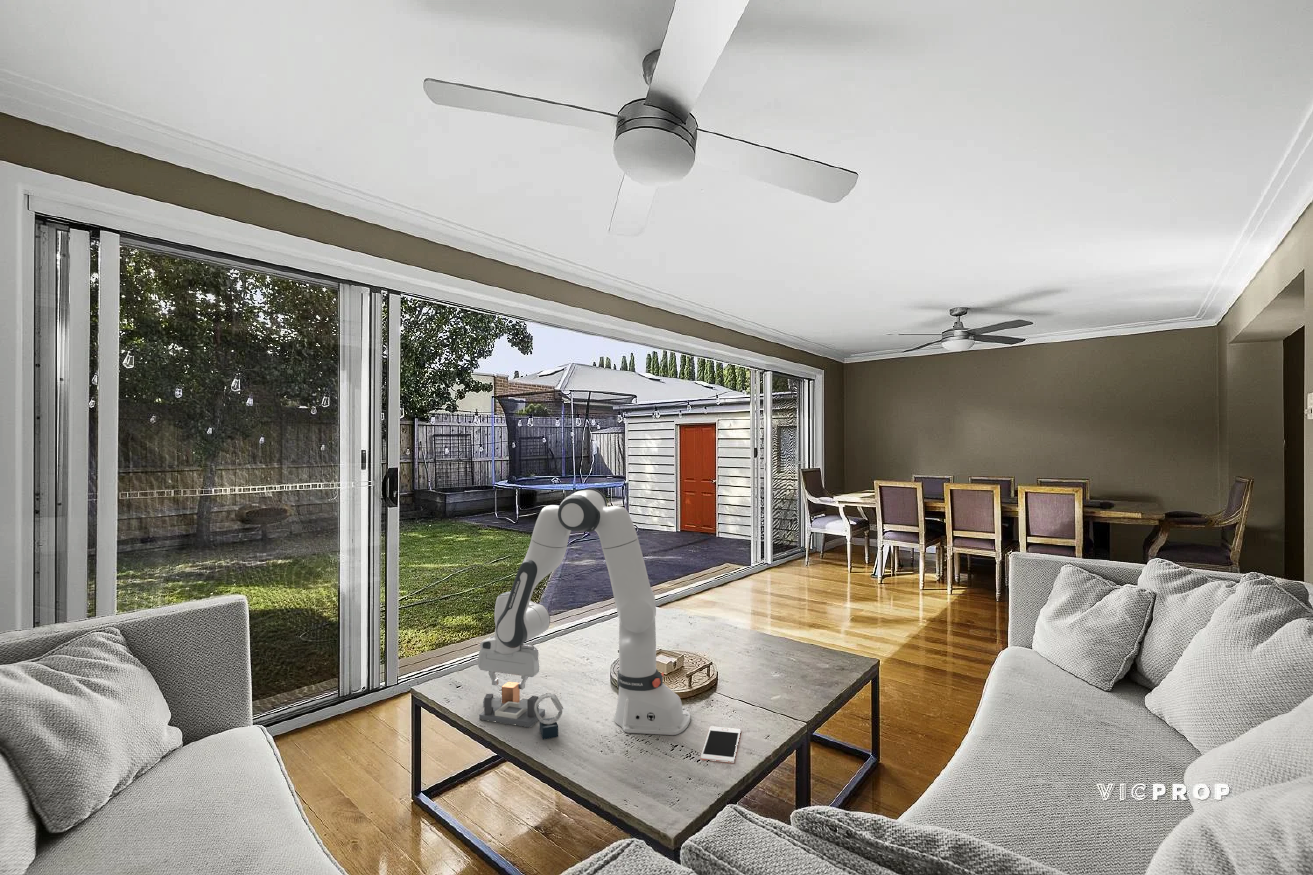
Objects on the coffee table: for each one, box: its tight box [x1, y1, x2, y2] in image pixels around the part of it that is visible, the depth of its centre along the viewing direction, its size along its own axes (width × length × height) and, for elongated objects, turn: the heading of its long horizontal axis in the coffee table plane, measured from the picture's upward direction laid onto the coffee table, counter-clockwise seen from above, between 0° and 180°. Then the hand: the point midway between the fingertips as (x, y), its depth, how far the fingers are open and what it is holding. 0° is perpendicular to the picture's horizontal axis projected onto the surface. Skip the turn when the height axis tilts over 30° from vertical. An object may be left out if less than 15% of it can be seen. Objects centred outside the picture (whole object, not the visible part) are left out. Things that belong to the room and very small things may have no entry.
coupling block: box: [501, 681, 521, 703], centre depth 193 cm, size 4×4×6 cm
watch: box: [534, 692, 564, 740], centre depth 173 cm, size 6×8×11 cm
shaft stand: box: [478, 693, 546, 728], centre depth 184 cm, size 17×9×6 cm, turn 72°
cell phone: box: [699, 725, 742, 762], centre depth 166 cm, size 9×18×1 cm, turn 167°
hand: (508, 686), depth 193 cm, fingers open, 8 cm apart
